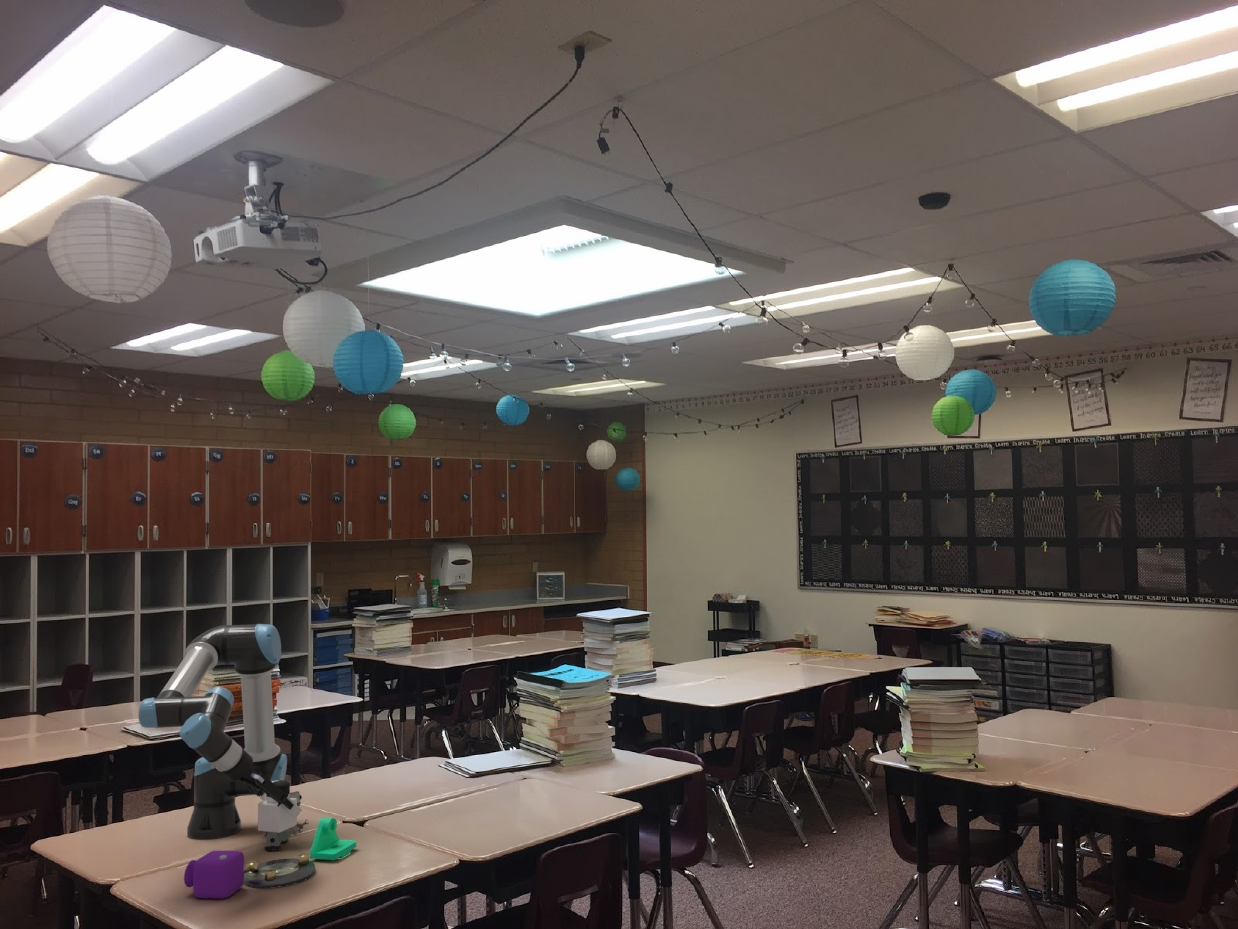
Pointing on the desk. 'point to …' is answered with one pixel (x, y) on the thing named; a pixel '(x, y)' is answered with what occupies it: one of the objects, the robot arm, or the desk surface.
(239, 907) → the desk surface
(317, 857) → the camera mount
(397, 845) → the desk surface
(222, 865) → the toy camera
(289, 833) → the figurine
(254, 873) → the plate
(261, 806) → the medicine bottle
